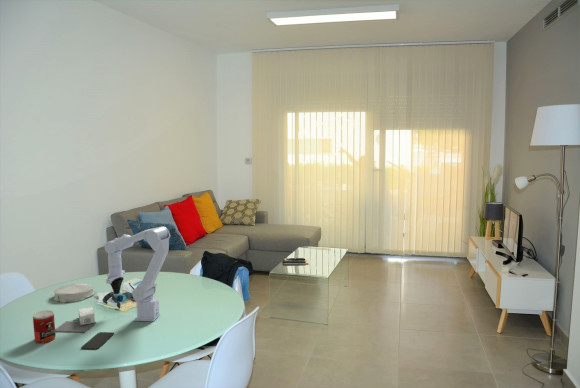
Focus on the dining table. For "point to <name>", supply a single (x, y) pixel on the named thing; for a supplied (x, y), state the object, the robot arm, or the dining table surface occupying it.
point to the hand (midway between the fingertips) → (116, 293)
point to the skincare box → (86, 316)
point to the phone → (97, 341)
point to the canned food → (44, 326)
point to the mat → (74, 327)
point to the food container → (73, 292)
